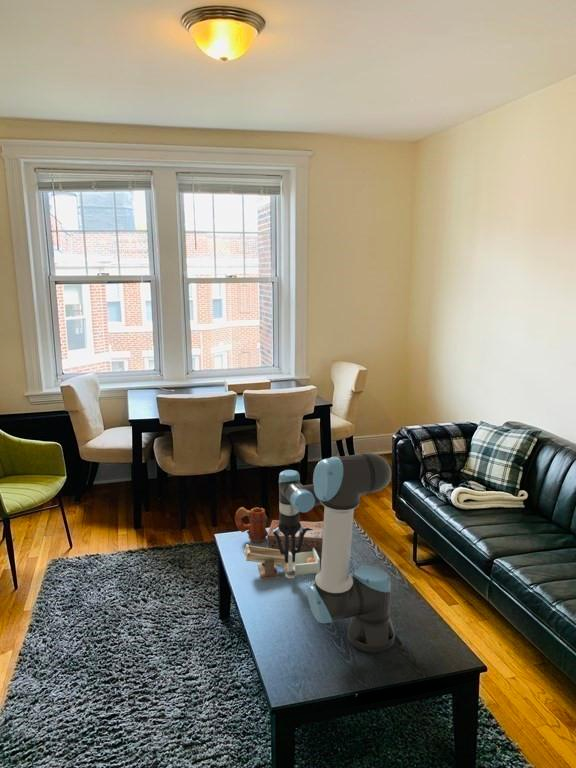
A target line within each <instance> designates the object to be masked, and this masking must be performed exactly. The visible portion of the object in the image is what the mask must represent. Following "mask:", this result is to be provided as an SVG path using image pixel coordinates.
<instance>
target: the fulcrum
mask: <svg viewBox="0 0 576 768" xmlns="http://www.w3.org/2000/svg"><path fill="white" fill-rule="evenodd" d="M276 566H277V565H274V560H268V561H265V563H258V564H257V571H258V572H259V578H260V581H265V580H275V579H280V576H279V573H278V570H277V567H276Z"/></svg>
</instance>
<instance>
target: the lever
mask: <svg viewBox="0 0 576 768" xmlns="http://www.w3.org/2000/svg"><path fill="white" fill-rule="evenodd" d="M289 552H290V551H289ZM244 557H245V561H246V562H253V563H258V564H262V563H265V561H268V560H274V565H276V566H282V568H283V572H284V575H285V578H288V579H295V576H294V575H295V571H294V570H293V569H292V572H288V569H287V563H285V555H284V554H283V555H281V553H280V550H278V549H271V548H267V547H265V546H264V547H263V546H256V545H249V544H247V543H246V544H245V547H244Z"/></svg>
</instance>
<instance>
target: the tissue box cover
mask: <svg viewBox="0 0 576 768" xmlns="http://www.w3.org/2000/svg"><path fill="white" fill-rule="evenodd" d="M279 522H280V521H279V520H277V519H272V521H271V523H270V526H269V530H268V531H267V533H268V535H267V536H266V543H267V546H266V548H271V549H278V550H279V546H278V543H277V539H276V537H275V535H274V534H273V531H272V530H273V529H276V528H278V525H279ZM323 523H324V521H323V522H321V521H320V522H319V521H304V520H303V521H301V520H300V524H301V526H305V527H306V529H307V531H306V533H305V534H304V538H303V542H302V546H301V550H300V552H309V551H312V548H315V550H316V552H317V555H318V557H319V559H320V561H321V557H322V540H323ZM299 533H300V529H299V531H298V532H297V533H296V534H295V548H296V545H297V541H298V537H299ZM279 537H280V541H281V544H282V548H283V550H284V535H283V533H282V532H281V531H279ZM288 545H289V551H290V552H291V536H289V539H288Z"/></svg>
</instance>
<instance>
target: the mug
mask: <svg viewBox="0 0 576 768" xmlns="http://www.w3.org/2000/svg"><path fill="white" fill-rule="evenodd" d="M246 516H247V519H248V520H249V523H247V524H246V523H244V522H243V518H245V517H246ZM268 519H269V517H268V516H267V515H266V509H265V508H263V507H261V508H260V507H253V508H251V509H250V510H249V509H246V508H245V507H244V506H241V507H239V508H238V509H237V510H236V512H235V515H234V522H235V525H236V527H237V529H238V530H239V531H240V532H241V533H245V532H246V533H247V534H248V540H249V541H250V542H253V543H256V544H257V543H263V542H265V541H266V540H267V535H268V530H267V525H266V523H267V522H266V521H267V520H268Z"/></svg>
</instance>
